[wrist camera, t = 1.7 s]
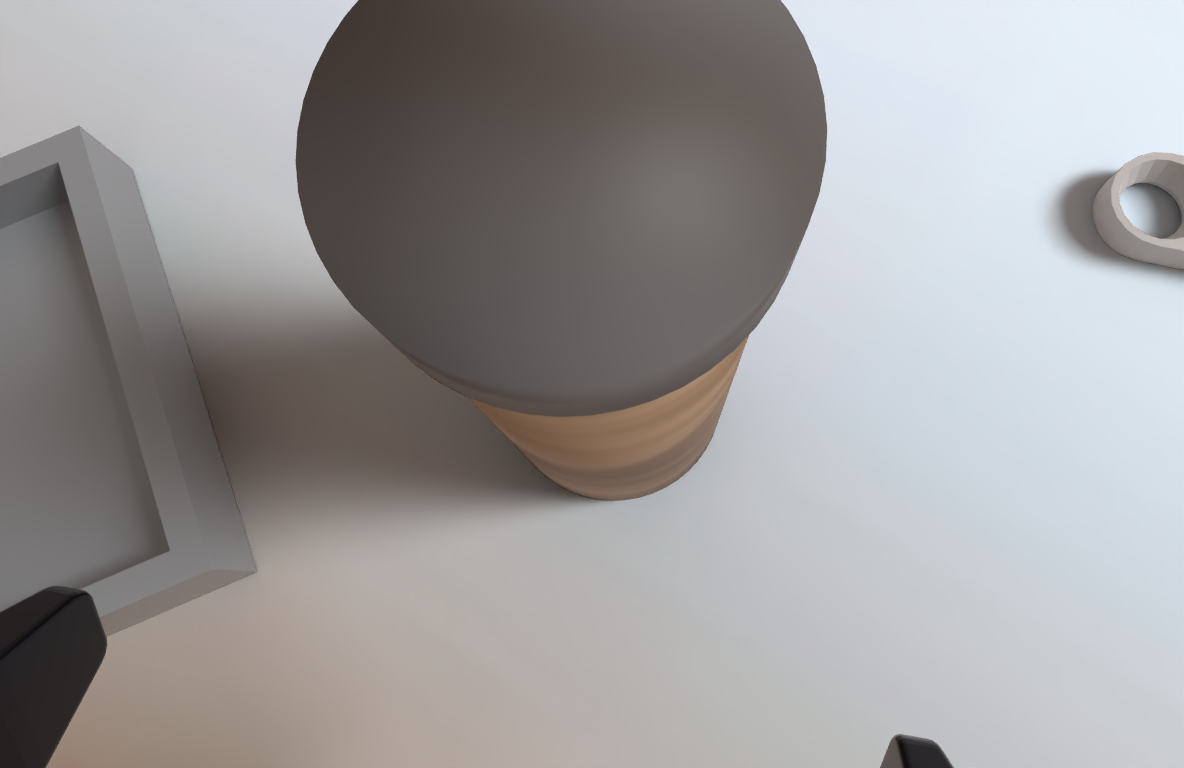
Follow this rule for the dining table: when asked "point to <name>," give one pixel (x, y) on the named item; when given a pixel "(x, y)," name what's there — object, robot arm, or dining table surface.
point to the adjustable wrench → (1175, 251)
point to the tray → (101, 400)
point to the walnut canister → (567, 209)
